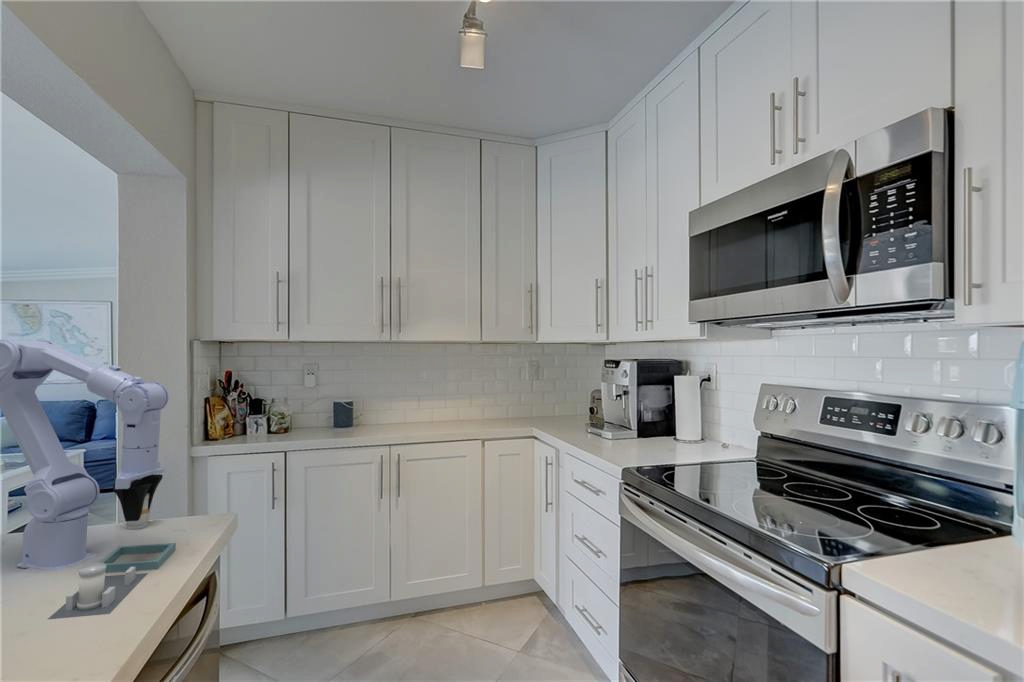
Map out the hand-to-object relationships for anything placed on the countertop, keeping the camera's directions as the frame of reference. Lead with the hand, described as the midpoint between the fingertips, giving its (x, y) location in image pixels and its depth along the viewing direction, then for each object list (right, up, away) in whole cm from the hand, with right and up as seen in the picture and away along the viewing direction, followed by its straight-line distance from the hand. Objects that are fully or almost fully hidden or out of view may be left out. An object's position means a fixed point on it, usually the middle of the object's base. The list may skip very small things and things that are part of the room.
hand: (136, 517), depth 99 cm
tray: (-1, -9, +1) cm, 9 cm away
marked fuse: (0, -2, 0) cm, 2 cm away
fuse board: (+3, -9, -12) cm, 16 cm away
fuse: (+4, -9, -16) cm, 19 cm away
